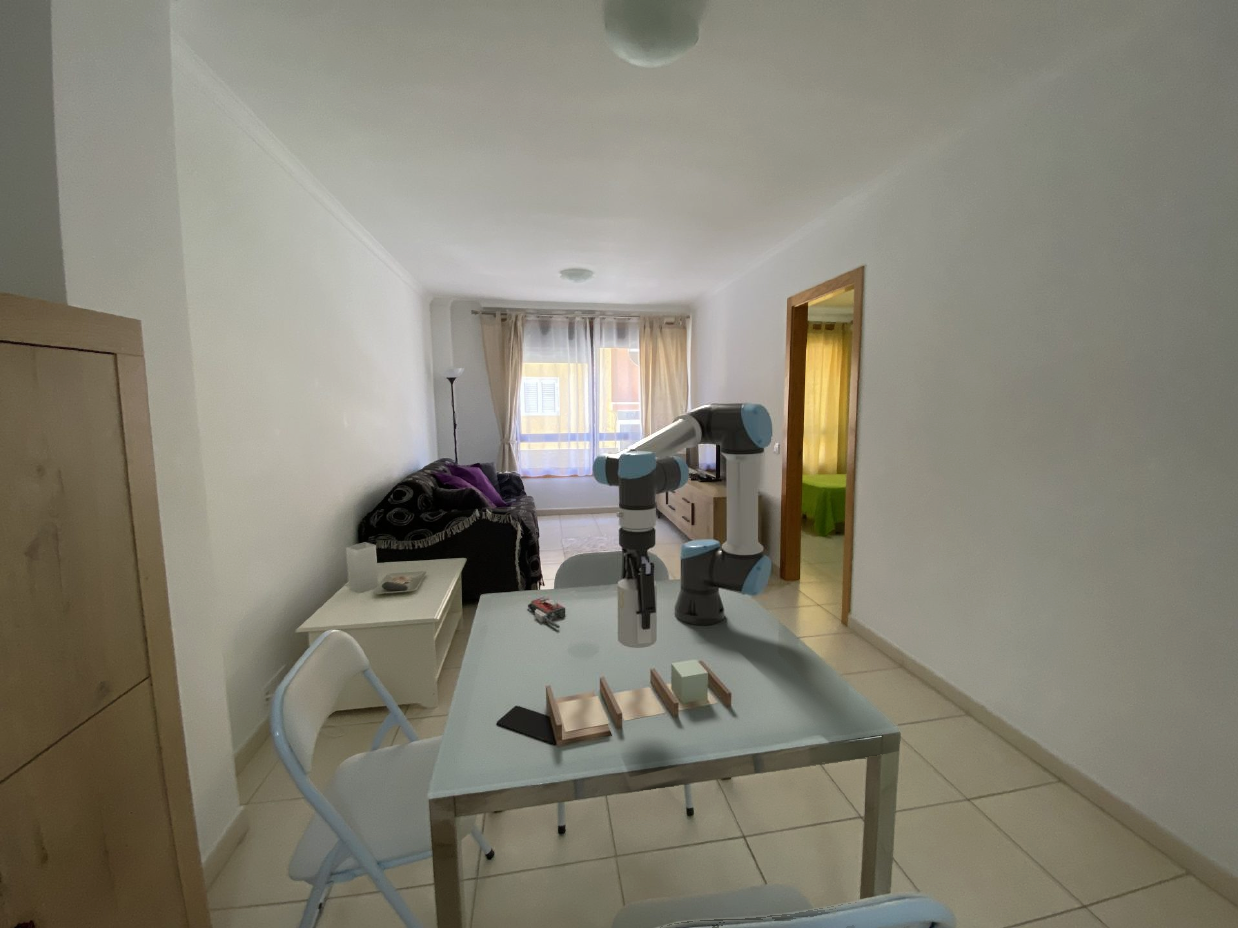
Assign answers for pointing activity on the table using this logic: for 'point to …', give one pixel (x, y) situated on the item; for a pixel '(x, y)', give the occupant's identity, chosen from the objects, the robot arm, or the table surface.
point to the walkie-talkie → (547, 610)
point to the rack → (619, 707)
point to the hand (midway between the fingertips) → (637, 632)
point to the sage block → (689, 681)
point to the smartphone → (529, 724)
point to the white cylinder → (632, 615)
